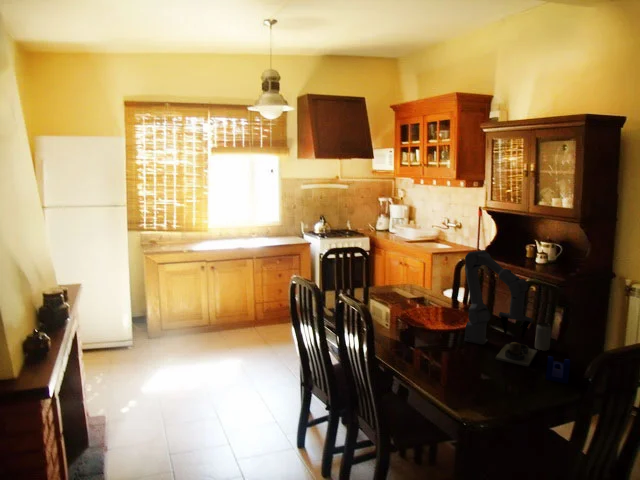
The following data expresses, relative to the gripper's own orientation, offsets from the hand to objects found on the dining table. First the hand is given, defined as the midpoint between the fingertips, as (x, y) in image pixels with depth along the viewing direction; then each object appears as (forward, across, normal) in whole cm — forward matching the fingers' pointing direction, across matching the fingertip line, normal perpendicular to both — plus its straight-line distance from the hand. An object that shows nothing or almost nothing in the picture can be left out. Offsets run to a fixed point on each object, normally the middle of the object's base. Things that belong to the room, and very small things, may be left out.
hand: (514, 335), depth 241 cm
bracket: (+10, +21, -10) cm, 25 cm away
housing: (+9, +2, 0) cm, 10 cm away
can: (+10, +10, +16) cm, 21 cm away
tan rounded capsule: (+8, +2, -5) cm, 10 cm away
